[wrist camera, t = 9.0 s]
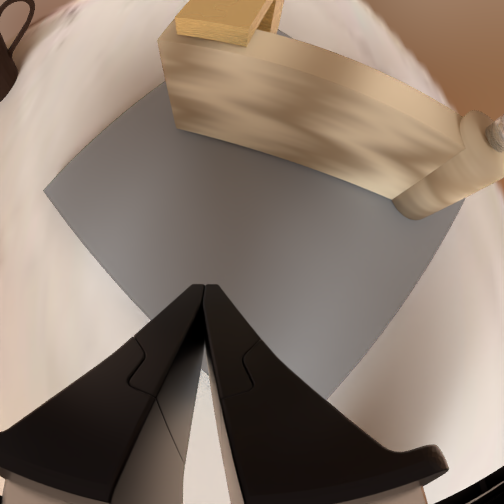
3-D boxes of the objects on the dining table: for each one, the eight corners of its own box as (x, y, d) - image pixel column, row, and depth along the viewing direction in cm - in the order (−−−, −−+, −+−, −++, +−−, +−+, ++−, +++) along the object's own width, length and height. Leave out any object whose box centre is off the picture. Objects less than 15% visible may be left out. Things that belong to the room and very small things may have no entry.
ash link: (432, 182, 19) (508, 132, 11) (429, 227, 19) (515, 188, 10) (192, 96, 19) (183, 0, 11) (171, 138, 18) (146, 43, 10)
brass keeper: (267, 76, 22) (293, -39, 11) (235, 157, 20) (248, 28, 9) (231, 66, 21) (240, -49, 11) (193, 145, 20) (174, 17, 9)
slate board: (456, 199, 21) (467, 193, 20) (282, 430, 17) (287, 439, 16) (262, 33, 22) (264, 21, 21) (53, 197, 18) (43, 190, 17)
